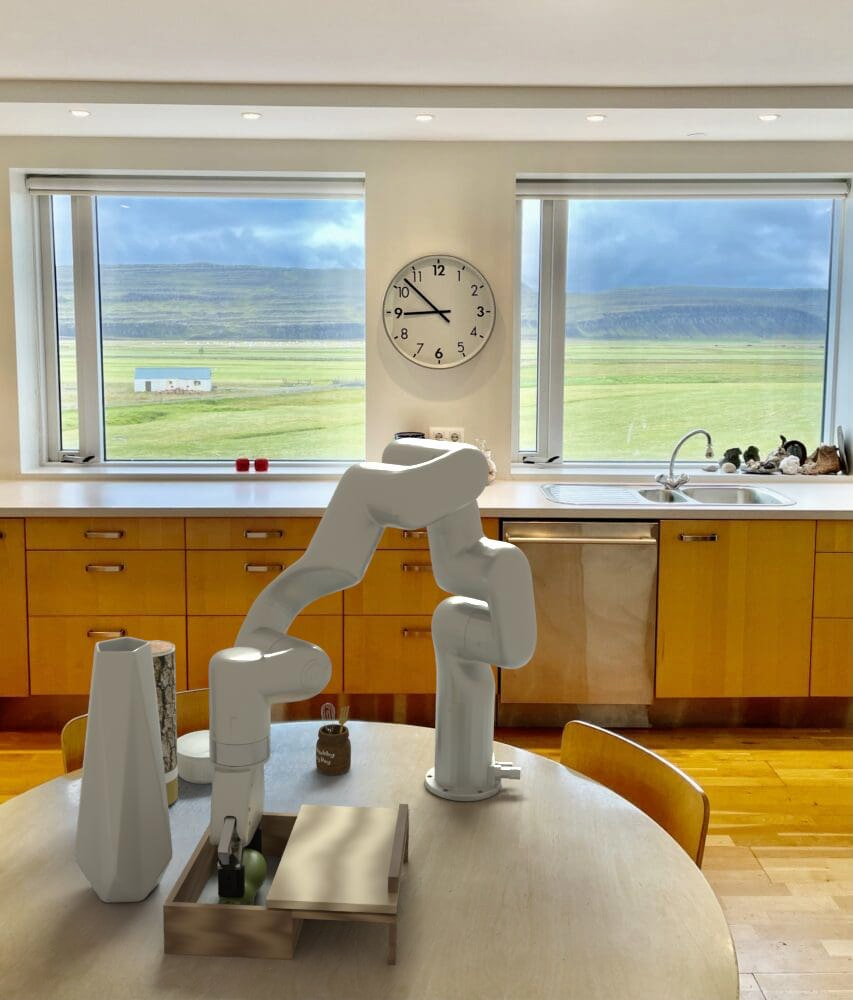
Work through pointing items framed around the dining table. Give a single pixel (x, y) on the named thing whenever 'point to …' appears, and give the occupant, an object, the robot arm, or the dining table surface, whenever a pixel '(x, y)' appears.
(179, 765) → the ramekin
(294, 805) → the dining table surface
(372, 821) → the lid
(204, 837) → the wooden box
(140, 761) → the vase
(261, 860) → the pear
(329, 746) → the utensil holder
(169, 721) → the paper tube
